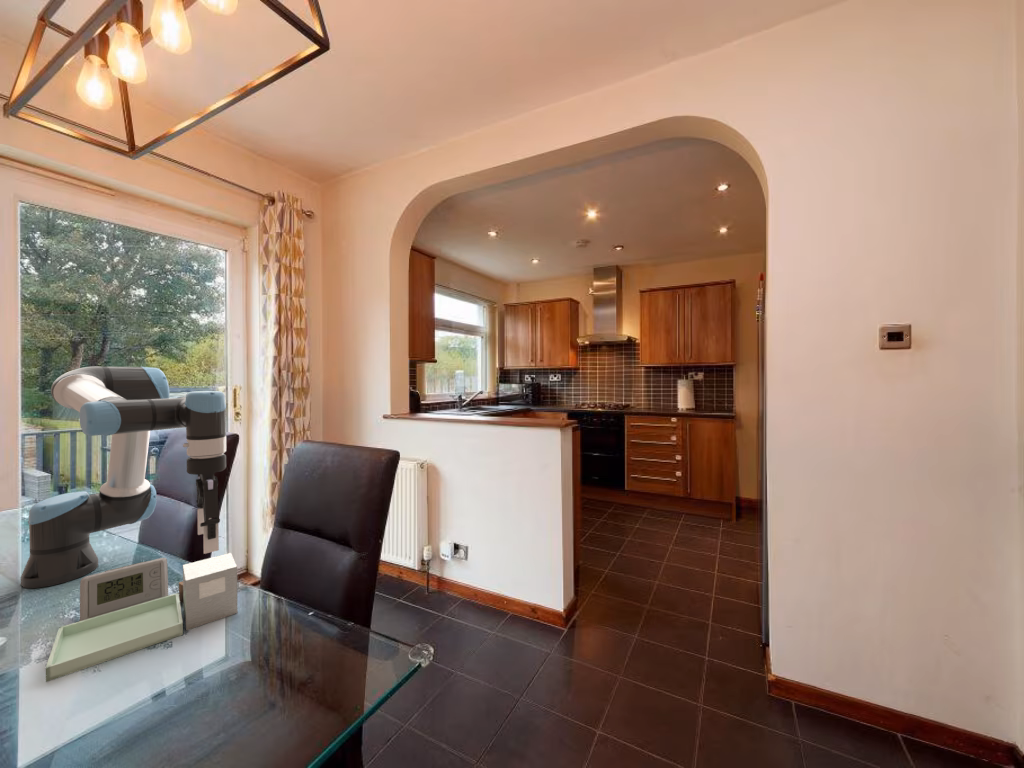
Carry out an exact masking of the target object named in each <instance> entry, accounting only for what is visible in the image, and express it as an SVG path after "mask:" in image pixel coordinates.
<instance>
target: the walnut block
mask: <svg viewBox="0 0 1024 768" xmlns="http://www.w3.org/2000/svg"><path fill="white" fill-rule="evenodd" d="M178 593H179V600H180V604H183V580H182V581H180V582H178Z"/></svg>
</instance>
